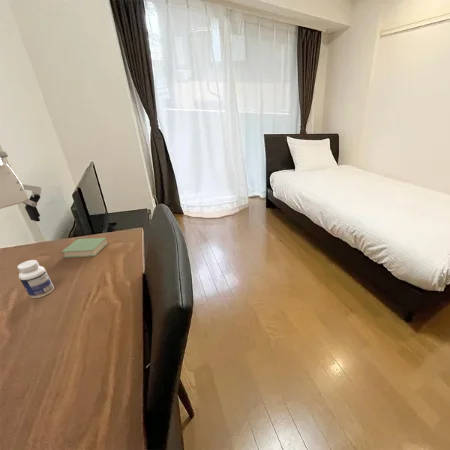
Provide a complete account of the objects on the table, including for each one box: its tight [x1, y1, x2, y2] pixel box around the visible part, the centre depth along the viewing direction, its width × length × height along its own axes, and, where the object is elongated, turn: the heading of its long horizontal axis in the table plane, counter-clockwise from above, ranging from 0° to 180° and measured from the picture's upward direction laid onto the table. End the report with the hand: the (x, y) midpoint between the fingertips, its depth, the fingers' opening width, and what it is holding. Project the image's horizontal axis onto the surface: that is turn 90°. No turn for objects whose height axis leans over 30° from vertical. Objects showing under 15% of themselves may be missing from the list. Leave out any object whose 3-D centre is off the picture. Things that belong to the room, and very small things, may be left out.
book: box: [61, 237, 109, 259], centre depth 97 cm, size 10×9×2 cm
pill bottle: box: [17, 259, 55, 299], centre depth 75 cm, size 5×5×10 cm
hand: (13, 227), depth 69 cm, fingers open, 9 cm apart
